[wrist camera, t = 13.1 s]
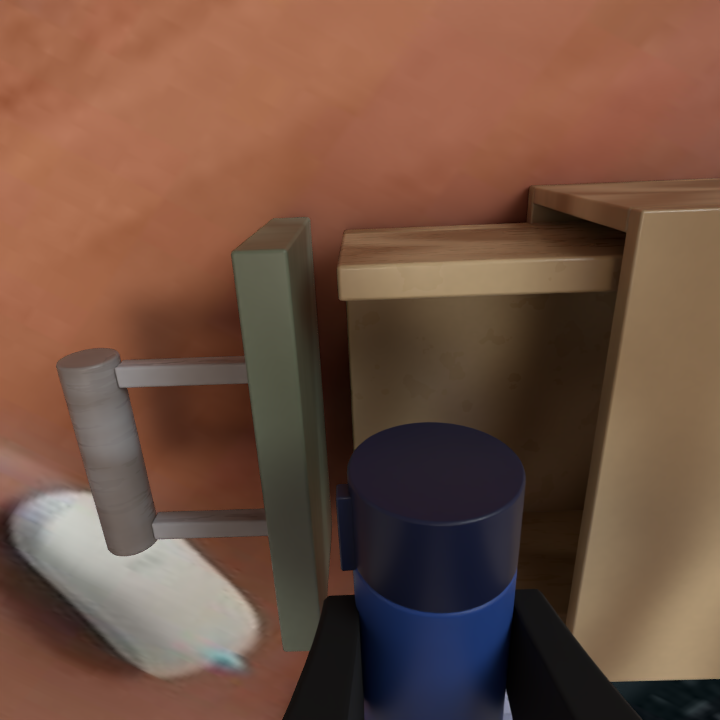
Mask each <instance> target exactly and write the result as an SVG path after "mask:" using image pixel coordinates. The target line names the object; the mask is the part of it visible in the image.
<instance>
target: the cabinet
mask: <svg viewBox="0 0 720 720" xmlns="http://www.w3.org/2000/svg"><path fill="white" fill-rule="evenodd" d="M587 220H588V221H591V222H594V223H597V224H600V225H604V226H607V227H610V228H613V229H616V230H619V231H622V232H626V239H625V246H624V252H623V259H622V265H621V272H620V278H619V284H618V291H617V297H616V304H615V310H614V316H613V323H612V329H611V336H610V342H609V348H608V355H607V361H606V368H605V374H604V381H603V387H602V393H601V400H600V406H599V413H598V419H597V425H596V432H595V438H594V445H593V451H592V458H591V464H590V470H589V477H588V483H587V490H586V496H585V502H584V509H583V515H582V522H581V528H580V534H579V541H578V547H577V554H576V560H575V567H574V573H573V579H572V586H571V592H570V599H569V605H568V611H567V618H566V624H565V625H566V626H567V628H568V629H569V630H570V632H571V633H572V634H573V636H574V637H575V638H576V639H577V641H578V642H579V643H580V645H581V646H582V647H583V649H584V650H585V651H586V652H587V654H588V655H589V656H590V657H591V659H592V660H593V661H594V662H595V664H596V665H597V666H598V667H599V669H600V670H601V671H602V672H603V674H604V675H605V676H606V677H607V678H608V680H609V681H610V682H616V681H653V680H690V679H720V178H711V179H686V180H661V181H635V182H610V183H585V184H559V185H534V186H530V187H529V197H528V209H527V221H526V223H535V222H561V221H587Z"/></svg>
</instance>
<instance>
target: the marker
mask: <svg viewBox="0 0 720 720" xmlns="http://www.w3.org/2000/svg"><path fill="white" fill-rule="evenodd" d="M347 479H348V484H338V485H337V486H336V507H337V521H338V534H339V548H340V561H341V569H342V570H343V571H347V570H353V575H354V591H355V603H356V607H357V610H358V611H359V621H360V638H361V655H362V672H363V688H364V720H503V712H504V702H505V692H506V681H507V671H508V661H509V650H510V640H511V630H512V619H513V609H514V599H515V588H516V578H517V565H518V557H519V547H520V536H521V526H522V516H523V505H524V495H525V485H526V475H525V470H524V467H523V465H522V463H521V460H520V459H519V457H518V456H517V455H516V453H515V452H514V451H513V450H512V449H511V448H510V447H508V446H507V445H506V444H505V443H503V442H502V441H500V440H499V439H497V438H495V437H493V436H491V435H490V434H487V433H485V432H482V431H480V430H477V429H474V428H470V427H466V426H462V425H457V424H451V423H441V422H420V423H410V424H403V425H399V426H395V427H391V428H388V429H385V430H383V431H380V432H378V433H376V434H374V435H372V436H370V437H369V438H367V439H366V440H364V441H363V442H362V443H361V444H360V445H359V446H358V447H357V448H356V449H355V450H354V452H353V454H352V455H351V457H350V460H349V463H348V467H347Z"/></svg>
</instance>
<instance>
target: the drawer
mask: <svg viewBox="0 0 720 720" xmlns="http://www.w3.org/2000/svg"><path fill="white" fill-rule="evenodd" d="M625 239H626V232H622V231H619V230H616V229H613V228H610V227H607V226H604V225H600V224H597V223H594V222H591V221H588V220H587V221H561V222H535V223H509V224H483V225H457V226H431V227H405V228H379V229H353V230H345V231H344V233H343V238H342V243H341V249H340V254H339V259H338V265H337V285H338V298H339V300H341V301H346V311H347V331H348V352H349V372H350V392H351V412H352V433H353V452H354V450H355V449H356V448H357V447H358V446H359V445H360V444H361V443H362V442H363V441H364V440H366V439H367V438H369V437H370V436H372V435H374V434H376V433H378V432H380V431H383V430H385V429H388V428H391V427H395V426H399V425H403V424H410V423H420V422H441V423H451V424H457V425H462V426H466V427H470V428H474V429H477V430H480V431H482V432H485V433H487V434H490V435H491V436H493V437H495V438H497V439H499V440H500V441H502V442H503V443H505V444H506V445H507V446H508V447H510V448H511V449H512V450H513V451H514V452H515V453H516V455H517V456H518V457H519V459H520V460H521V463H522V465H523V467H524V470H525V475H526V485H525V495H524V505H523V516H522V526H521V536H520V547H519V557H518V565H517V578H516V588H515V589H538V590H539V591H540V592H542V593H543V595H544V596H545V598H546V599H547V600H548V602H549V603H550V605H551V606H552V607H553V609H554V610H555V611H556V613H557V614H558V616H559V617H560V618H561V620H562V621H563V622H564V624H566V618H567V611H568V605H569V599H570V592H571V586H572V579H573V573H574V567H575V560H576V554H577V547H578V541H579V534H580V528H581V522H582V515H583V509H584V502H585V496H586V490H587V483H588V477H589V470H590V464H591V458H592V451H593V445H594V438H595V432H596V425H597V419H598V413H599V406H600V400H601V393H602V387H603V381H604V374H605V368H606V361H607V355H608V348H609V342H610V336H611V329H612V323H613V316H614V310H615V304H616V297H617V291H618V284H619V278H620V272H621V265H622V259H623V252H624V246H625ZM231 258H232V266H233V273H234V281H235V289H236V296H237V304H238V311H239V319H240V326H241V334H242V342H243V349H244V356H225V357H197V358H169V359H140V360H124V361H122V362H121V359H120V355H119V353H118V352H117V351H116V350H114V349H109V348H95V349H88V350H83V351H79V352H75V353H72V354H70V355H67V356H65V357H63V358H62V359H60V360H59V361H58V362H57V365H56V368H57V371H58V375H59V378H60V382H61V386H62V389H63V393H64V396H65V400H66V403H67V407H68V410H69V414H70V417H71V421H72V424H73V428H74V431H75V435H76V438H77V442H78V445H79V449H80V452H81V456H82V459H83V463H84V466H85V470H86V474H87V477H88V481H89V484H90V488H91V491H92V495H93V498H94V502H95V505H96V509H97V512H98V516H99V519H100V523H101V526H102V530H103V533H104V537H105V540H106V544H107V547H108V550H109V551H110V552H111V553H112V554H114V555H117V556H131V555H135V554H138V553H140V552H143V551H145V550H146V549H148V548H149V547H151V546H152V545H153V544H154V543H155V542H156V541H157V539H180V538H212V537H244V536H268V538H269V546H270V553H271V561H272V568H273V576H274V584H275V591H276V599H277V606H278V614H279V621H280V629H281V637H282V644H283V650H284V651H286V652H287V651H310V649H311V646H312V643H313V640H314V637H315V634H316V630H317V627H318V623H319V620H320V616H321V612H322V607H323V602H324V600H325V599H326V598H327V591H328V577H329V563H330V549H331V535H332V515H331V501H330V488H329V474H328V460H327V446H326V432H325V418H324V404H323V391H322V377H321V363H320V349H319V335H318V321H317V308H316V294H315V280H314V266H313V252H312V238H311V224H310V219H309V218H308V217H297V218H273V219H272V220H270V221H269V222H268V223H267V224H265V225H264V226H263V227H262V228H260V229H259V230H258V231H257V232H256V233H254V234H253V235H252V236H251V237H249V238H248V239H247V240H246V241H244V242H243V243H242V244H241V245H240V246H238V247H237V248H236V249H235V250H233V251H232V253H231ZM244 383H248V387H249V394H250V402H251V410H252V417H253V425H254V432H255V440H256V447H257V455H258V463H259V470H260V478H261V485H262V493H263V500H264V508H265V509H236V510H205V511H173V512H158V513H157V515H156V510H155V506H154V502H153V497H152V493H151V489H150V484H149V480H148V476H147V471H146V467H145V463H144V458H143V454H142V450H141V445H140V441H139V437H138V433H137V428H136V424H135V420H134V415H133V411H132V407H131V402H130V398H129V394H128V389H127V388H129V387H158V386H187V385H216V384H244Z"/></svg>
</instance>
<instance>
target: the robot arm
mask: <svg viewBox="0 0 720 720" xmlns="http://www.w3.org/2000/svg"><path fill="white" fill-rule="evenodd" d="M282 720H364V688H363V672H362V655H361V638H360V621H359V611H358V610H357V607H356V603H355V595H339V596H328V597H327V598H326V599H325V600H324V602H323V607H322V612H321V616H320V620H319V623H318V627H317V630H316V634H315V637H314V640H313V643H312V646H311V649H310V652H309V654H308V657H307V660H306V663H305V666H304V668H303V671H302V673H301V676H300V678H299V681H298V683H297V686H296V688H295V691H294V693H293V696H292V698H291V701H290V703H289V706H288V708H287V710H286V713H285V715H284V717H283V719H282ZM503 720H642V718H641V717H640V716H639V715H638V714H637V713H636V712H635V710H634V709H633V708H632V707H631V706H630V705H629V704H628V702H627V701H626V700H625V699H624V698H623V696H622V695H621V694H620V693H619V692H618V690H617V689H616V688H615V687H614V686H613V684H612V683H611V682H610V681H609V680H608V678H607V677H606V676H605V675H604V674H603V672H602V671H601V670H600V669H599V667H598V666H597V665H596V664H595V662H594V661H593V660H592V659H591V657H590V656H589V655H588V654H587V652H586V651H585V650H584V649H583V647H582V646H581V645H580V643H579V642H578V641H577V639H576V638H575V637H574V636H573V634H572V633H571V632H570V630H569V629H568V628H567V626H566V625H565V624H564V622H563V621H562V620H561V618H560V617H559V616H558V614H557V613H556V611H555V610H554V609H553V607H552V606H551V605H550V603H549V602H548V600H547V599H546V598H545V596H544V595H543V593H542V592H540V591H539V590H538V589H515V599H514V609H513V619H512V630H511V640H510V650H509V661H508V671H507V681H506V692H505V702H504V712H503Z"/></svg>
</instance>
